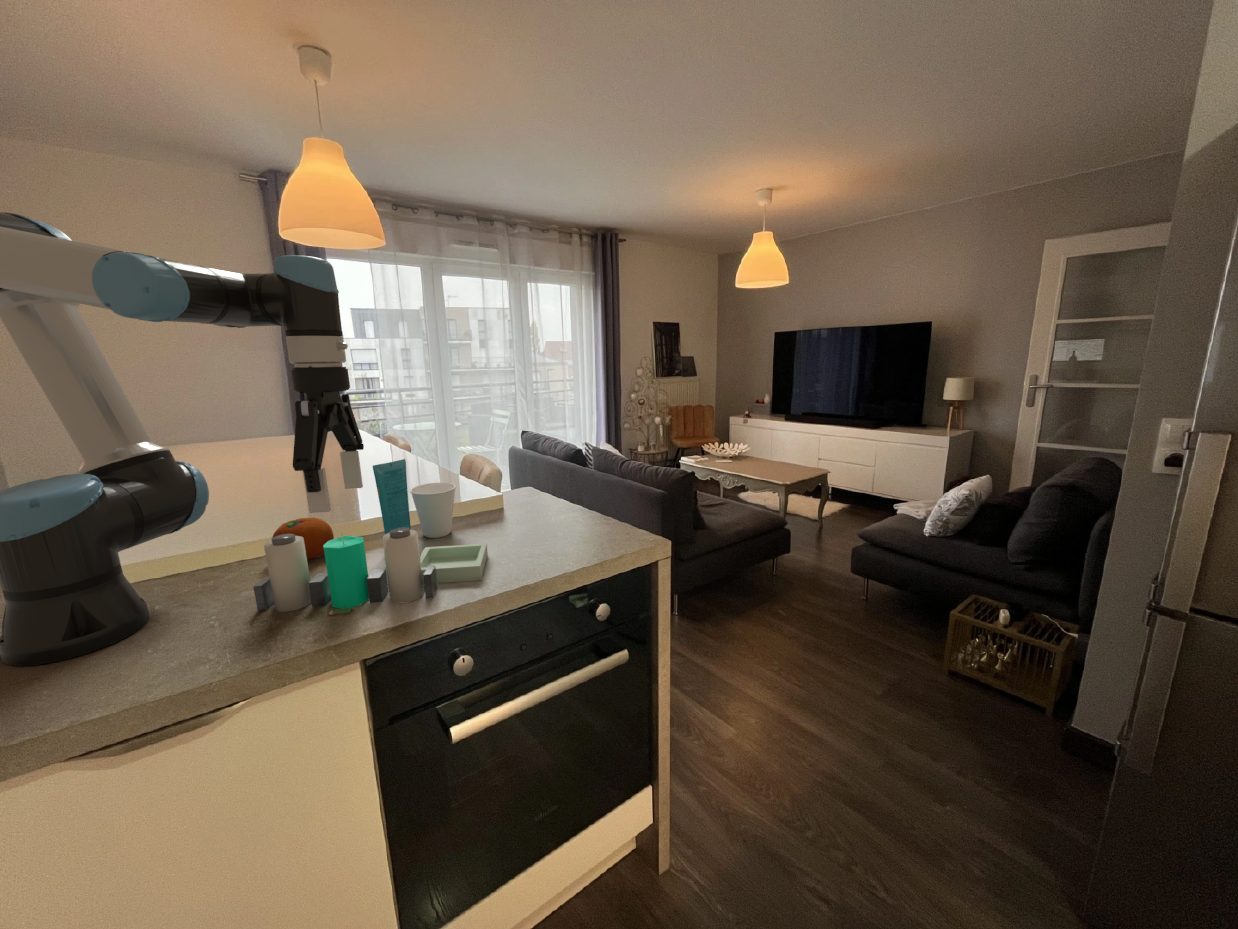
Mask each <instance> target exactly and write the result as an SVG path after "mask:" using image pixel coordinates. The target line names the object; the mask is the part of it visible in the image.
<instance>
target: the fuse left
mask: <svg viewBox="0 0 1238 929" xmlns="http://www.w3.org/2000/svg"><path fill="white" fill-rule="evenodd" d="M272 537H273V536H272ZM272 537H271V540H269V541H267V542H265V543H264V544H263V548H264V552H265V553H264V555H265V560H266V565H267V569H268V570H267V571H268V576H269V577H270V583H271V588H272V594H273V600H274V604H273V605H274V609H275V611H277V612H282V613H287V612H294V611H297V610H301V609H303V608H306V607H307V606H308V605H310V604H311V598H310V591H309V585H308V582H309V581H310V580H311V577H310V576H311V575H310V571H309V570H310V569H309V564H308V560H307V557H306V551H305V544H304V538H303V537H301V536H295V534H282V535H278V536H275V537H273V538H272Z"/></svg>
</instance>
